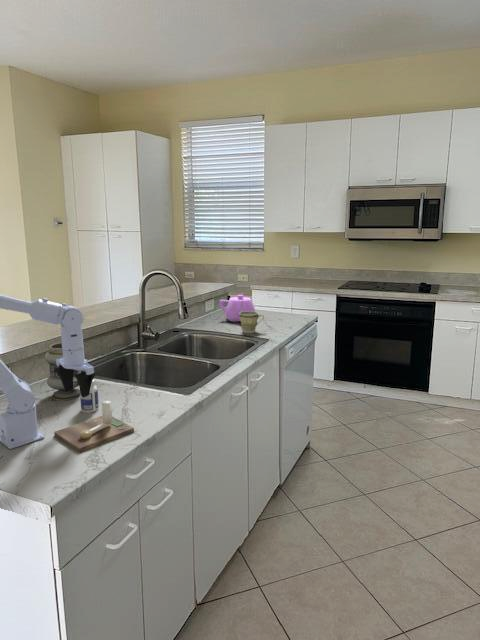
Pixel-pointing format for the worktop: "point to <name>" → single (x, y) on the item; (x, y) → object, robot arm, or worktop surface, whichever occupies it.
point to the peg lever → (106, 420)
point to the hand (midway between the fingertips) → (77, 393)
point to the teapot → (237, 307)
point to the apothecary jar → (54, 379)
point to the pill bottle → (90, 399)
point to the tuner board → (99, 437)
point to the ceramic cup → (249, 321)
